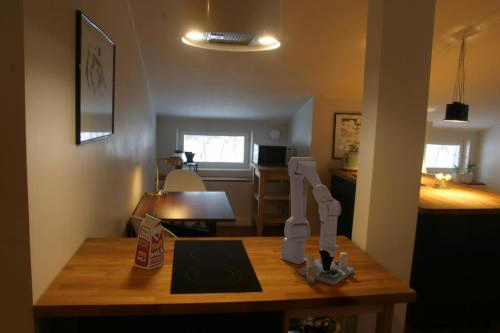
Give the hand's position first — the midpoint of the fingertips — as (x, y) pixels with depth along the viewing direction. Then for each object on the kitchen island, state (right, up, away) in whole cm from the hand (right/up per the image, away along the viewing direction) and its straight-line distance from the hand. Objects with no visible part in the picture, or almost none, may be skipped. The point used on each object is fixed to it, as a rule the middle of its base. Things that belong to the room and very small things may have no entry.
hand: (326, 270), depth 135 cm
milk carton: (-67, -1, +9) cm, 68 cm away
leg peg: (-6, -4, -1) cm, 7 cm away
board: (+2, -4, +9) cm, 10 cm away
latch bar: (+3, -1, +4) cm, 5 cm away
